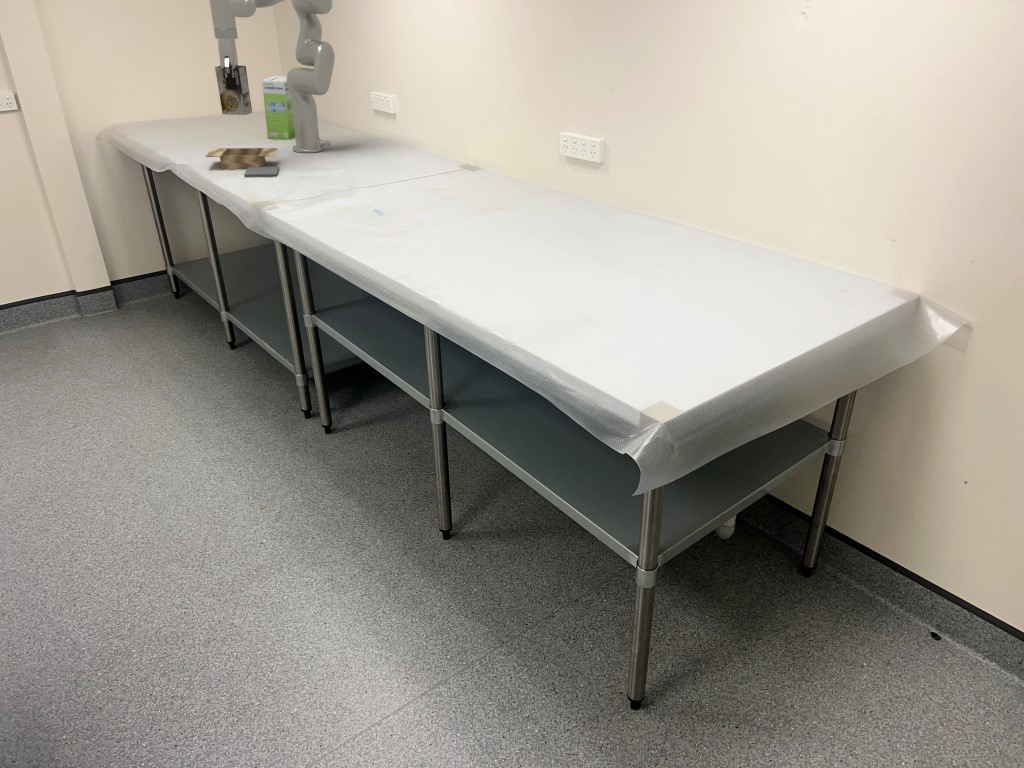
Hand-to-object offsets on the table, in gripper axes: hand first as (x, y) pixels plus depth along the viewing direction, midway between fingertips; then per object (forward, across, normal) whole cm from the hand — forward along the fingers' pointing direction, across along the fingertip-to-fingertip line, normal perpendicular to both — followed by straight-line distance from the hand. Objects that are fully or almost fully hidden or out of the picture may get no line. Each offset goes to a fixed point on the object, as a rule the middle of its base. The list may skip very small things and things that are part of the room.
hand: (233, 87), depth 268 cm
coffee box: (+9, 0, 0) cm, 9 cm away
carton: (+28, 0, 0) cm, 28 cm away
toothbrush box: (+28, -60, +10) cm, 67 cm away
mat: (+28, +13, +8) cm, 32 cm away
